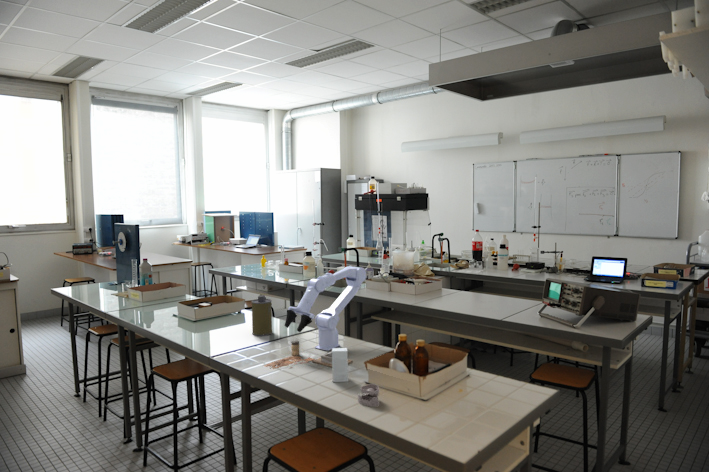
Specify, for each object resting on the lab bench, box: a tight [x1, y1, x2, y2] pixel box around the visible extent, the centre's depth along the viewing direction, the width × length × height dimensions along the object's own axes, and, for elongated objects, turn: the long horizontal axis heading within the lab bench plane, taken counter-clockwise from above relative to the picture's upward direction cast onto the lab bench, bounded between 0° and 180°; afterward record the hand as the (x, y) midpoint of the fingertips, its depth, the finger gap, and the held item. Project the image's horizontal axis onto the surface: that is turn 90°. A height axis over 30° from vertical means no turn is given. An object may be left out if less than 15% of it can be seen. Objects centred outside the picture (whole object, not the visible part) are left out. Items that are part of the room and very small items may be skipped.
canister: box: [251, 294, 273, 337], centre depth 247 cm, size 11×10×20 cm
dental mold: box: [357, 383, 380, 408], centre depth 160 cm, size 8×7×5 cm
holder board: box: [311, 351, 353, 368], centre depth 200 cm, size 10×14×3 cm
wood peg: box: [290, 340, 300, 357], centre depth 211 cm, size 4×4×6 cm
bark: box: [262, 355, 316, 370], centre depth 200 cm, size 22×12×1 cm, turn 139°
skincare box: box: [331, 347, 349, 383], centre depth 180 cm, size 6×4×12 cm
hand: (292, 329), depth 206 cm, fingers open, 7 cm apart
